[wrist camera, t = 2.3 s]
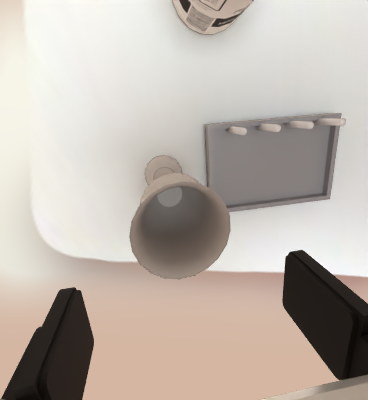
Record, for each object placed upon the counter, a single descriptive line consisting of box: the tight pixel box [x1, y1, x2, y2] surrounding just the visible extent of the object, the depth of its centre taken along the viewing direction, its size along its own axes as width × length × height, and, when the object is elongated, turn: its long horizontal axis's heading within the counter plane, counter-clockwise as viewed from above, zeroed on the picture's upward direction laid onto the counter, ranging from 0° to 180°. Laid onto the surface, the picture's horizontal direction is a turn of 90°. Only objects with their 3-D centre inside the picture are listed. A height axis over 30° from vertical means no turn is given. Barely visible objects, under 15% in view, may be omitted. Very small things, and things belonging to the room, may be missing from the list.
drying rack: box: [204, 113, 346, 212], centre depth 32 cm, size 18×12×6 cm, turn 95°
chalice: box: [130, 155, 230, 279], centre depth 25 cm, size 7×7×18 cm
